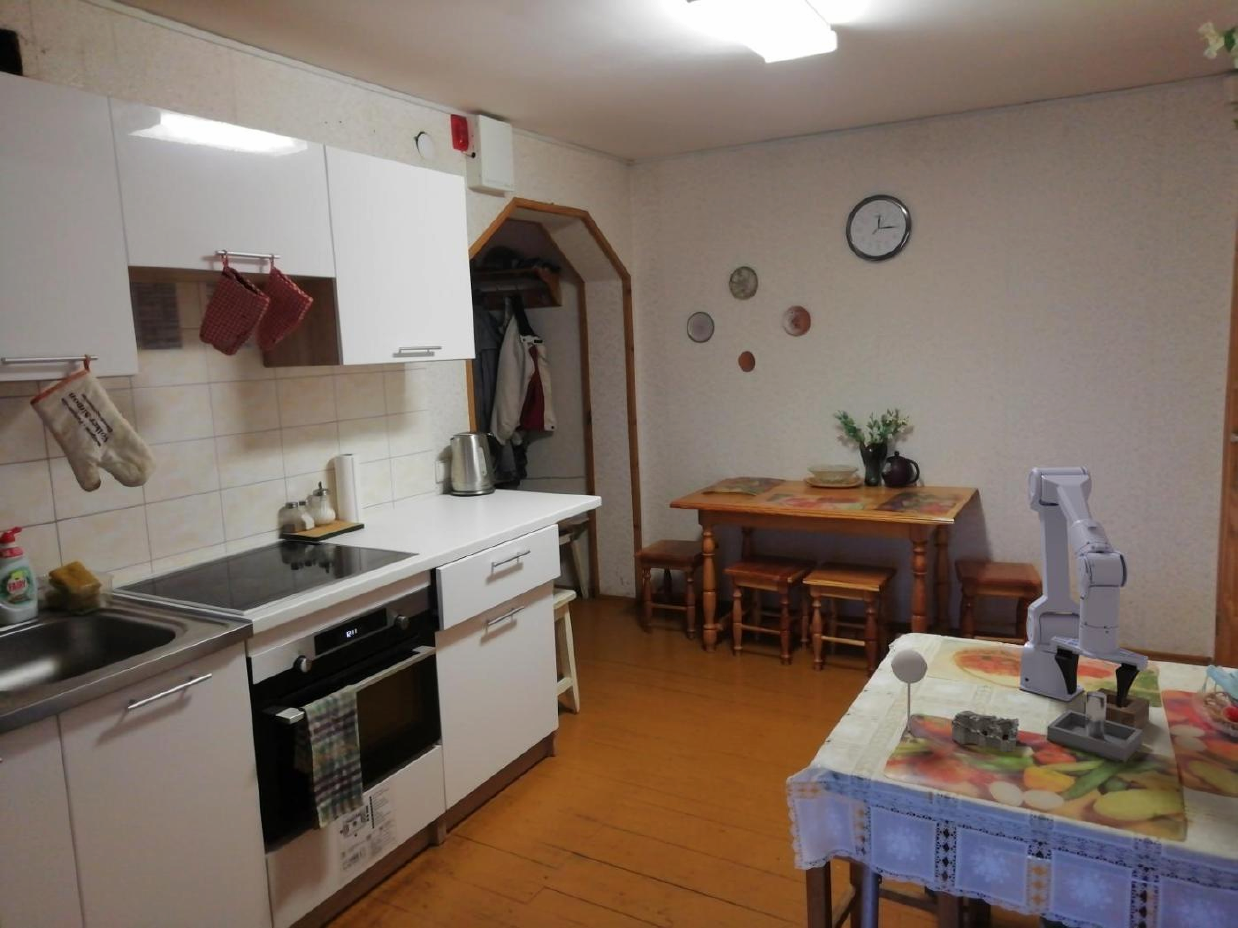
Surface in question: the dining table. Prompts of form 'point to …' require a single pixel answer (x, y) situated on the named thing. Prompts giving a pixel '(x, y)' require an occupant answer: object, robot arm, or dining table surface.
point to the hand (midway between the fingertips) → (1095, 699)
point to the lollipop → (909, 671)
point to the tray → (1116, 744)
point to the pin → (1095, 715)
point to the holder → (1126, 710)
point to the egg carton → (972, 724)
